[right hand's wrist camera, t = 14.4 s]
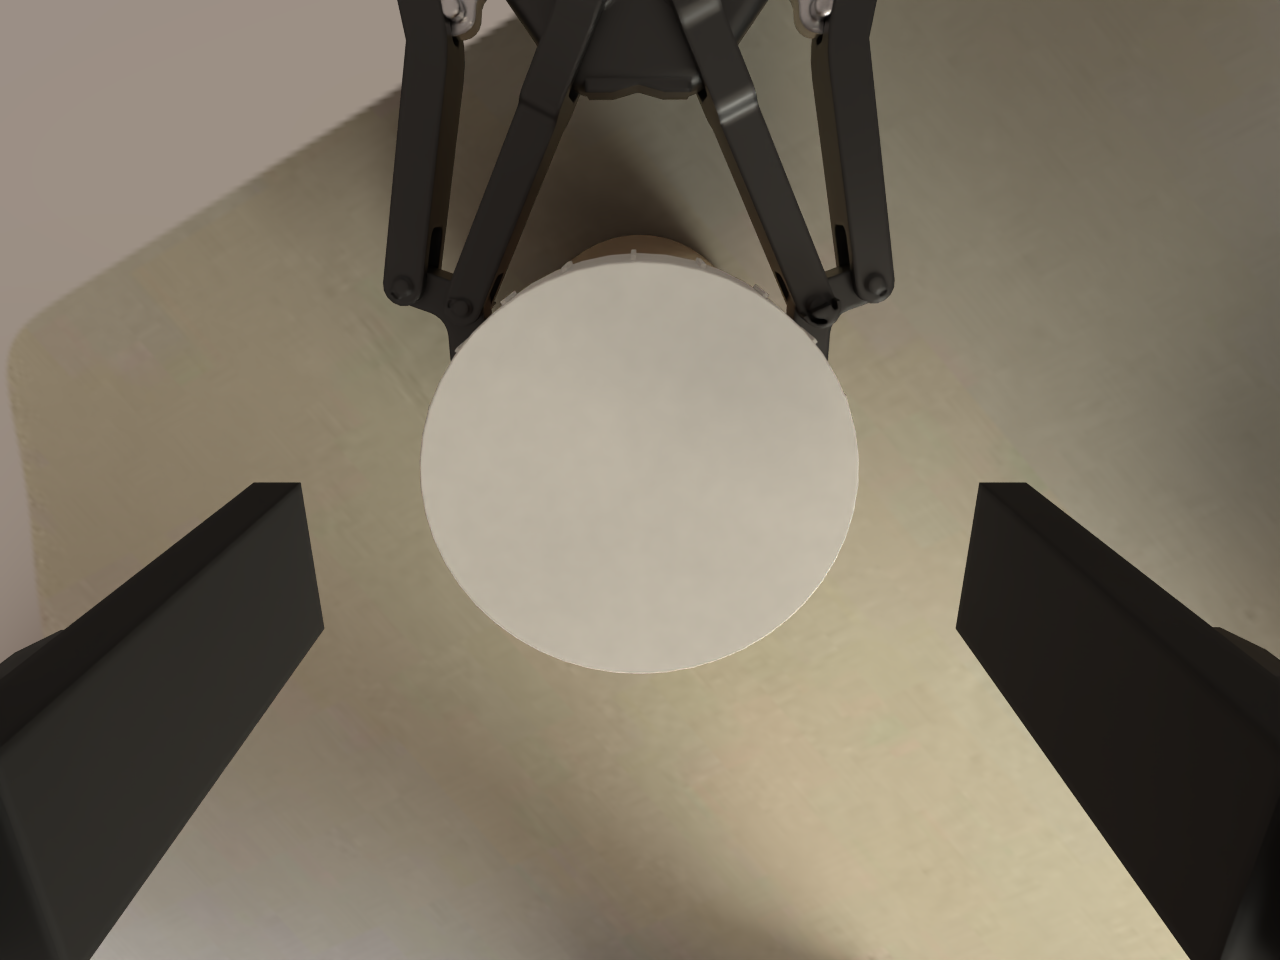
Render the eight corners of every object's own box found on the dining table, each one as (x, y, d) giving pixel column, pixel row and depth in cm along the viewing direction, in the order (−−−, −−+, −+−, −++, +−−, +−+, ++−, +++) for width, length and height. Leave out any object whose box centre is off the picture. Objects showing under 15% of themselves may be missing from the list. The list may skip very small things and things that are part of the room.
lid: (759, 176, 17) (775, 174, 15) (889, 553, 20) (916, 592, 18) (366, 350, 18) (333, 370, 16) (545, 679, 21) (535, 728, 19)
